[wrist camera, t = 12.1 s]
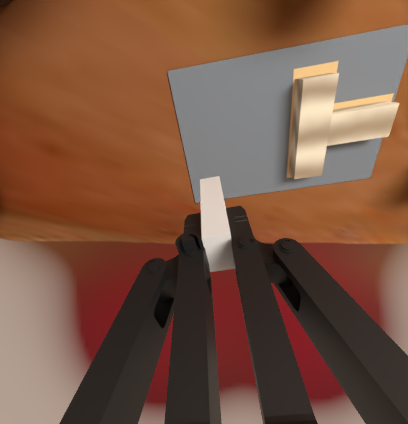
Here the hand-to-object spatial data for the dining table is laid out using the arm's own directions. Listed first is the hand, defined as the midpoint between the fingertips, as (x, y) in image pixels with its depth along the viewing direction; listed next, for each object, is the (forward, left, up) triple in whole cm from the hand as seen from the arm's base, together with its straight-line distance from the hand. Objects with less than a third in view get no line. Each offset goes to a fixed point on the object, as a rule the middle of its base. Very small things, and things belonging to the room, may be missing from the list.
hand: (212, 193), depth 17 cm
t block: (+3, +22, -24) cm, 33 cm away
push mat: (+3, +13, -24) cm, 28 cm away
